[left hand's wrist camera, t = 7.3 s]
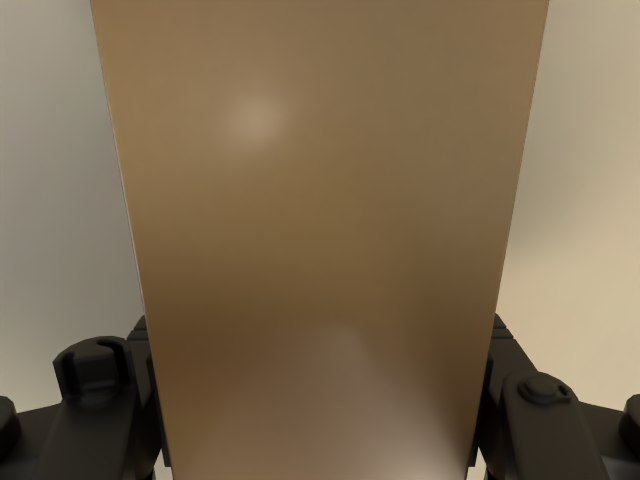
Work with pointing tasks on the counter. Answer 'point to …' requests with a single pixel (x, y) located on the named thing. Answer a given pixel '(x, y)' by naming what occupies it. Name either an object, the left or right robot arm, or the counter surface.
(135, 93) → the bar
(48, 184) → the counter surface
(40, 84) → the counter surface
